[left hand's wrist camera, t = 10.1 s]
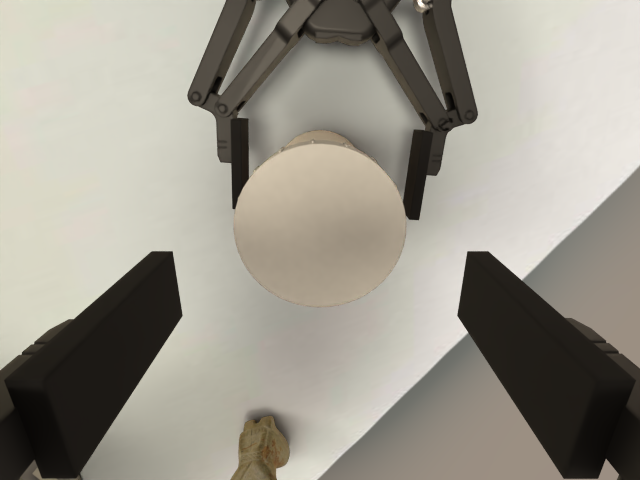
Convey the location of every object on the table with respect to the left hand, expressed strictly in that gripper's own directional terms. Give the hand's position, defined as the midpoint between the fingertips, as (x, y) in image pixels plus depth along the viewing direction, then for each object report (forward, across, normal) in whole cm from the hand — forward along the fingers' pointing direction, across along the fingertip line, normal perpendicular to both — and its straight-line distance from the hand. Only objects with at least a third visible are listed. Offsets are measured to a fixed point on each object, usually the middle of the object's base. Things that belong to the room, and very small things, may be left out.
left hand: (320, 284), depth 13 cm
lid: (+6, 0, 0) cm, 6 cm away
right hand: (+16, 0, -2) cm, 16 cm away
